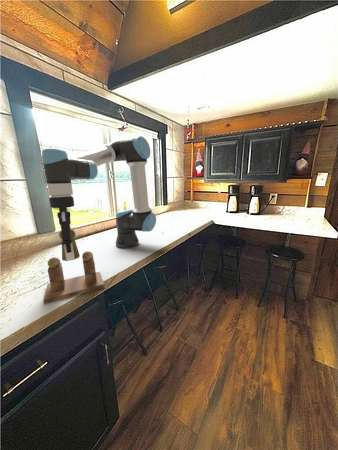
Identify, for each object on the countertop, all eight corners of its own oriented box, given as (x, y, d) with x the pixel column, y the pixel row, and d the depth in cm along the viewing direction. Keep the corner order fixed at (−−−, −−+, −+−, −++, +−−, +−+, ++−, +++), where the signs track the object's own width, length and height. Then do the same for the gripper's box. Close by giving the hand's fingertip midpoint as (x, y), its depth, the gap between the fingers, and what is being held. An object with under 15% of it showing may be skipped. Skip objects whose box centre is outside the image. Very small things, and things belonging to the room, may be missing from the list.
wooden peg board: (100, 274, 82) (96, 245, 79) (104, 287, 72) (100, 254, 69) (48, 287, 73) (41, 254, 70) (44, 303, 63) (36, 266, 60)
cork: (82, 257, 70) (78, 229, 67) (65, 262, 65) (60, 232, 63) (76, 253, 74) (72, 227, 71) (59, 258, 69) (54, 230, 67)
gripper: (51, 195, 71) (60, 251, 76) (45, 198, 54) (57, 269, 59) (72, 194, 74) (80, 248, 79) (73, 196, 58) (82, 264, 63)
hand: (70, 256), depth 69 cm, fingers closed on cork, 6 cm apart
